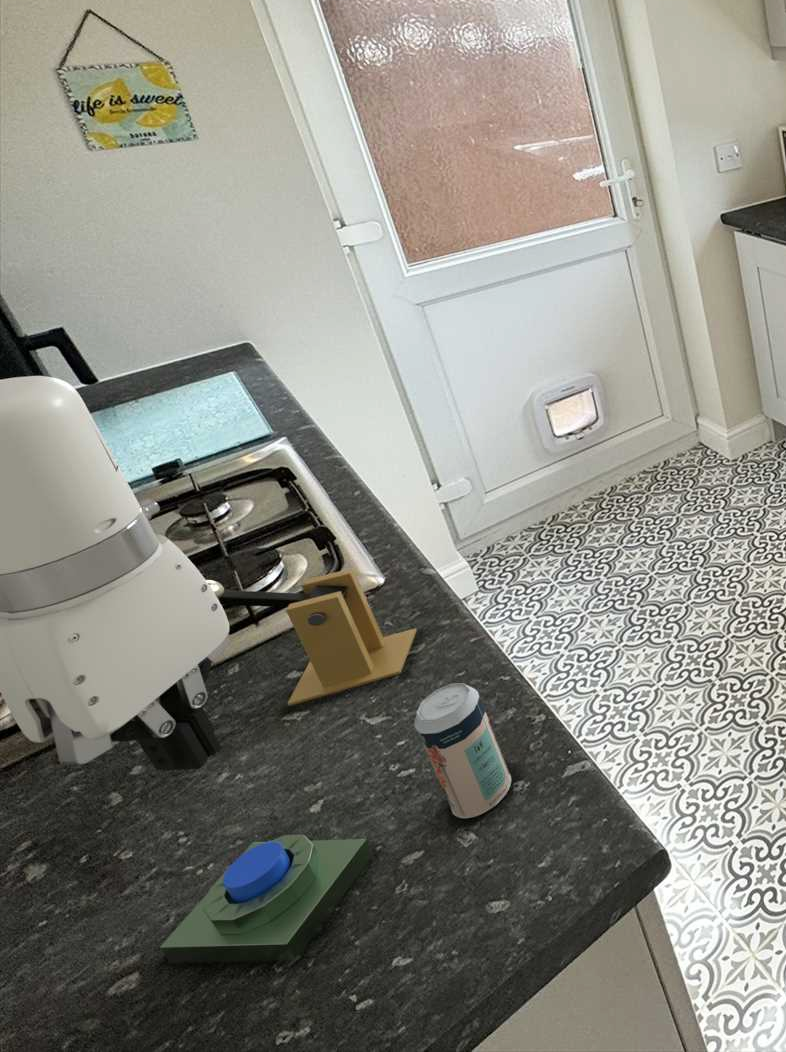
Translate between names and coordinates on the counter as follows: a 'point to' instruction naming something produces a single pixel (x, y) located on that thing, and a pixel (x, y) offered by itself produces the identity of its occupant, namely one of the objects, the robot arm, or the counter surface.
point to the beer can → (463, 749)
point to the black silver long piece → (269, 595)
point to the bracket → (343, 639)
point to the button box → (271, 907)
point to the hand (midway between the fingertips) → (191, 759)
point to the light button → (256, 871)
